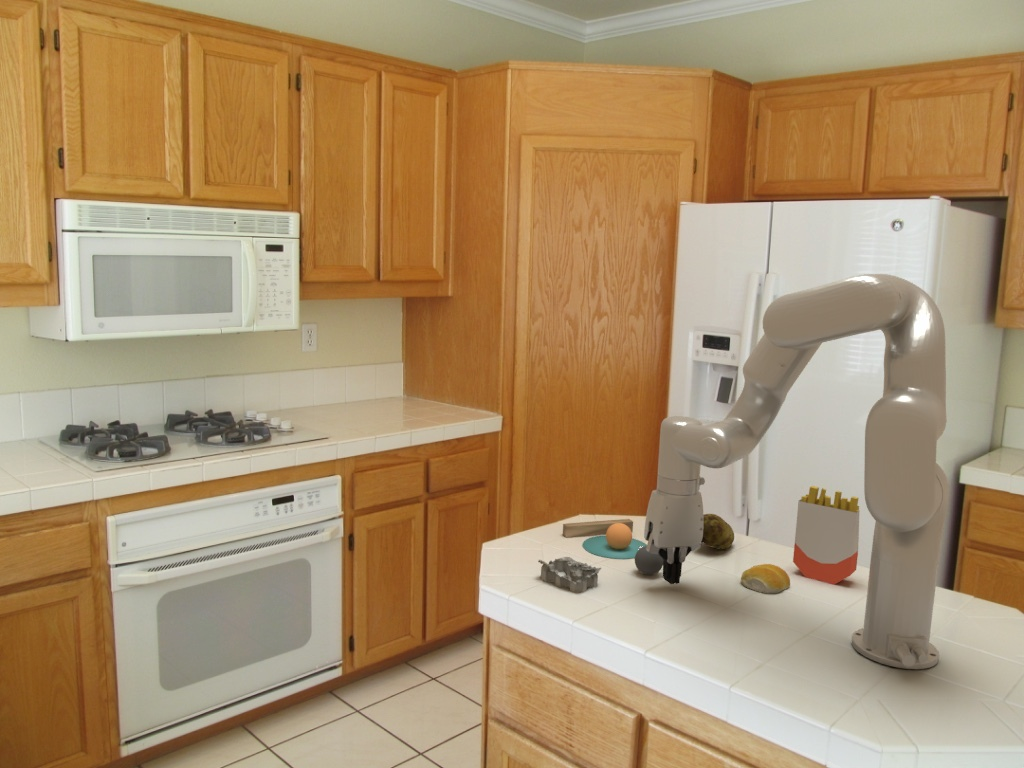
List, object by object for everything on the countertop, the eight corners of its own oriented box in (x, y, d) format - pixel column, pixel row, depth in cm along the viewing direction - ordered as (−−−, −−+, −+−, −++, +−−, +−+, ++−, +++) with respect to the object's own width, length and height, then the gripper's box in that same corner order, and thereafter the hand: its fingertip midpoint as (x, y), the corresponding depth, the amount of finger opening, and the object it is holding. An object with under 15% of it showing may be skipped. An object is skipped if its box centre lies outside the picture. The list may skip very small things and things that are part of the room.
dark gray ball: (643, 545, 167) (648, 574, 166) (626, 549, 163) (631, 578, 162) (666, 542, 163) (671, 571, 162) (649, 546, 159) (655, 575, 158)
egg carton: (534, 579, 159) (535, 559, 158) (561, 570, 164) (562, 550, 163) (577, 597, 151) (578, 575, 151) (603, 586, 156) (604, 565, 156)
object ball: (617, 519, 179) (617, 544, 180) (600, 523, 176) (600, 548, 176) (638, 523, 175) (637, 549, 176) (621, 527, 172) (620, 554, 172)
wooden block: (632, 532, 187) (633, 521, 187) (566, 537, 182) (566, 526, 182) (628, 529, 189) (629, 518, 189) (562, 534, 184) (563, 523, 184)
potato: (749, 548, 180) (752, 511, 179) (712, 560, 172) (715, 522, 171) (717, 537, 186) (720, 502, 185) (680, 548, 178) (682, 511, 177)
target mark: (651, 561, 170) (651, 560, 170) (581, 556, 171) (582, 555, 171) (647, 538, 183) (647, 537, 183) (583, 534, 185) (583, 533, 185)
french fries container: (799, 567, 169) (807, 480, 167) (855, 581, 163) (864, 491, 160) (791, 573, 166) (799, 485, 163) (848, 588, 159) (858, 496, 157)
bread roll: (795, 586, 160) (797, 566, 160) (773, 598, 154) (775, 577, 153) (755, 573, 166) (757, 554, 165) (733, 585, 159) (734, 565, 159)
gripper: (702, 477, 159) (695, 570, 161) (631, 481, 154) (625, 577, 156) (725, 488, 152) (717, 585, 154) (651, 493, 147) (644, 593, 149)
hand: (671, 581), depth 155 cm, fingers closed
